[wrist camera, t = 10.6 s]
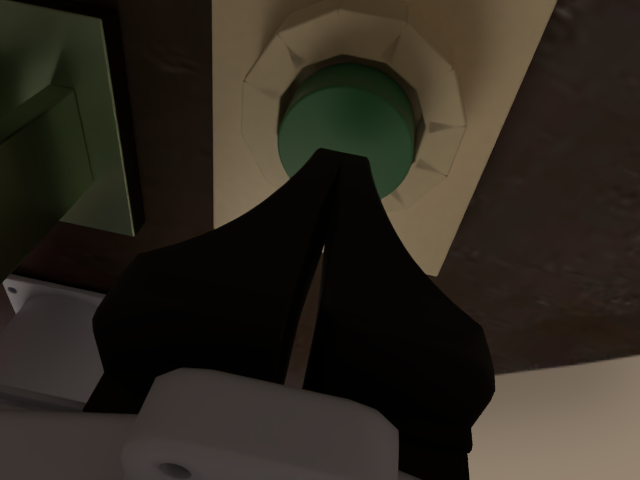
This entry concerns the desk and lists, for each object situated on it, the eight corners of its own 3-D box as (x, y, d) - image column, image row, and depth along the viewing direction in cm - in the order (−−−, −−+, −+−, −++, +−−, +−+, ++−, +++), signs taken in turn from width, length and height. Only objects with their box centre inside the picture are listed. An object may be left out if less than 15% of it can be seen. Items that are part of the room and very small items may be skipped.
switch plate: (436, 251, 22) (439, 308, 20) (224, 207, 22) (199, 257, 20) (557, -42, 14) (589, -13, 12) (228, -106, 14) (186, -91, 12)
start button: (396, 188, 17) (394, 219, 15) (283, 164, 17) (271, 193, 15) (430, 76, 14) (431, 102, 13) (295, 49, 14) (282, 72, 13)
